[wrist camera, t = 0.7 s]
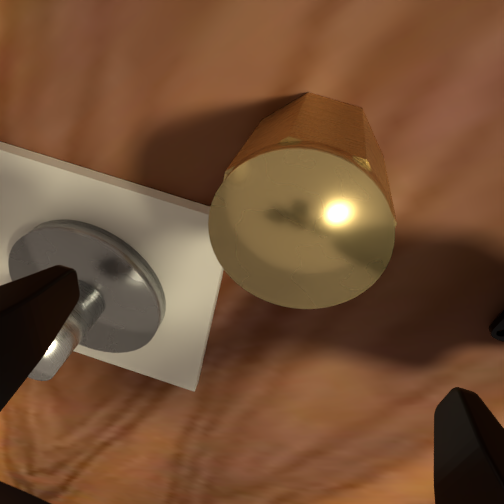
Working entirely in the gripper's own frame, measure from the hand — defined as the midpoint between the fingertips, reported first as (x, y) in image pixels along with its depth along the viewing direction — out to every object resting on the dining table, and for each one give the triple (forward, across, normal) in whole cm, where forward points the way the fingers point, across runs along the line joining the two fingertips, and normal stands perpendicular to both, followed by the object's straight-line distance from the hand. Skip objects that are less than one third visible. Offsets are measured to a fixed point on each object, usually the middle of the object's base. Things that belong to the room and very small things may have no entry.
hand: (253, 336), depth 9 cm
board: (+11, +12, +11) cm, 20 cm away
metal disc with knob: (+10, +11, +11) cm, 19 cm away
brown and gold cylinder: (+11, 0, 0) cm, 11 cm away
